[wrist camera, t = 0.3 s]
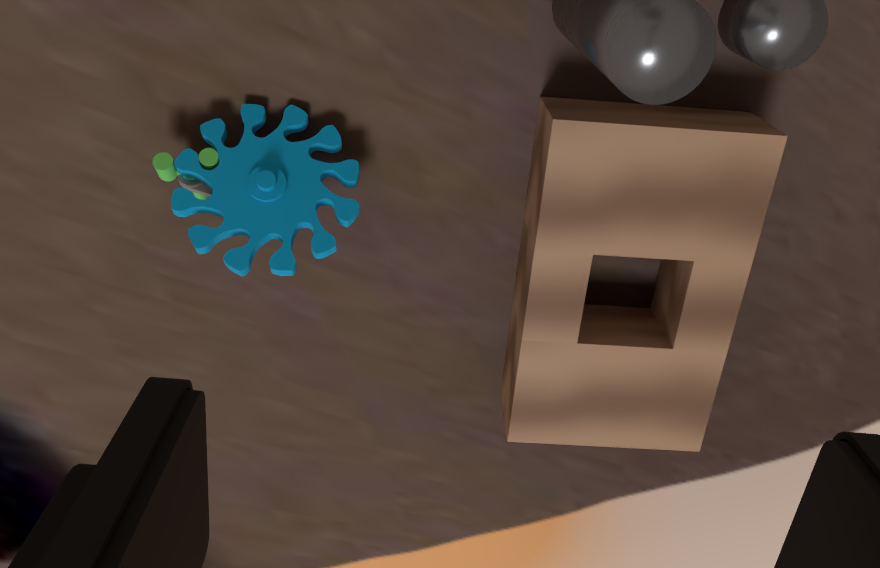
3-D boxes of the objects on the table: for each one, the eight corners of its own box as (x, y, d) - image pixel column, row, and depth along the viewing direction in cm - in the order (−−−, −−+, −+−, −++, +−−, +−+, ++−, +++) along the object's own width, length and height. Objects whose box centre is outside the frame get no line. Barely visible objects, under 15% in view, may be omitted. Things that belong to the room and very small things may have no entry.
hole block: (540, 96, 43) (552, 119, 39) (750, 111, 44) (787, 136, 39) (500, 394, 52) (507, 441, 48) (676, 404, 53) (699, 451, 48)
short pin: (727, -26, 41) (757, -18, 37) (802, -20, 41) (838, -12, 37) (710, 53, 42) (736, 67, 39) (781, 58, 43) (814, 73, 39)
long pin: (557, -39, 40) (617, -12, 28) (634, -33, 40) (727, -3, 28) (547, 40, 42) (598, 101, 29) (620, 46, 42) (702, 108, 30)
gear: (386, 128, 42) (326, 294, 39) (381, 177, 48) (329, 326, 44) (191, 67, 42) (114, 228, 39) (210, 123, 48) (143, 268, 44)
